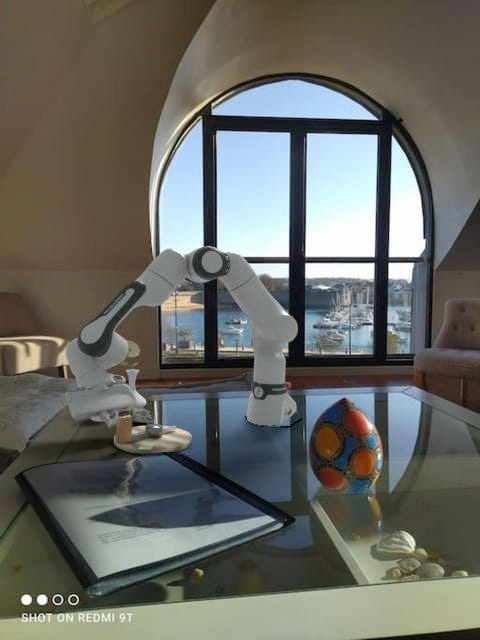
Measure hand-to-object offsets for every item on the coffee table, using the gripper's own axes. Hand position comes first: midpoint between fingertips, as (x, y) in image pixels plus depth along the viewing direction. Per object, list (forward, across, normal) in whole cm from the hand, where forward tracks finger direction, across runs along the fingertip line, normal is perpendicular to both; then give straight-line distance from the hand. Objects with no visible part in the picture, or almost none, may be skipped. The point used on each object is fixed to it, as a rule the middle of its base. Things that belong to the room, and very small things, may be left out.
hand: (114, 425), depth 127 cm
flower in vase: (-18, +29, +25) cm, 42 cm away
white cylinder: (-12, +11, +19) cm, 25 cm away
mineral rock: (-6, +20, +13) cm, 25 cm away
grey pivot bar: (+7, +7, -3) cm, 10 cm away
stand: (+8, +9, -1) cm, 12 cm away
